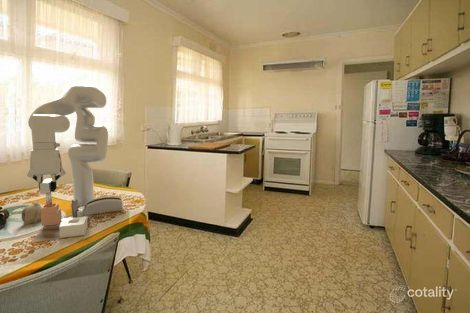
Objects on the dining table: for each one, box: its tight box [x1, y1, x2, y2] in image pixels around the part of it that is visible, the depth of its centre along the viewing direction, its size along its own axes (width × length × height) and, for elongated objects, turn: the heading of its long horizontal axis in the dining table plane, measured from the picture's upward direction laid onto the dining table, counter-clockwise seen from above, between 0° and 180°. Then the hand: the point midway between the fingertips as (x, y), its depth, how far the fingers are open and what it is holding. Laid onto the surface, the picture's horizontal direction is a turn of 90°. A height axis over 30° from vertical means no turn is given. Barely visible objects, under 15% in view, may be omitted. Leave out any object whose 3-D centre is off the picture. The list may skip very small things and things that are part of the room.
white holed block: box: [59, 217, 89, 238], centre depth 106 cm, size 8×8×4 cm
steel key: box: [39, 178, 53, 205], centre depth 109 cm, size 8×3×10 cm, turn 20°
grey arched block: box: [85, 195, 124, 216], centre depth 129 cm, size 17×5×10 cm, turn 122°
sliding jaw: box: [40, 202, 63, 227], centre depth 111 cm, size 6×6×7 cm
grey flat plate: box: [30, 216, 92, 243], centre depth 109 cm, size 20×17×2 cm
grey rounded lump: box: [21, 201, 42, 226], centre depth 116 cm, size 9×8×10 cm
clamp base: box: [42, 198, 90, 230], centre depth 113 cm, size 8×15×10 cm, turn 111°
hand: (48, 190), depth 109 cm, fingers closed on steel key, 3 cm apart
